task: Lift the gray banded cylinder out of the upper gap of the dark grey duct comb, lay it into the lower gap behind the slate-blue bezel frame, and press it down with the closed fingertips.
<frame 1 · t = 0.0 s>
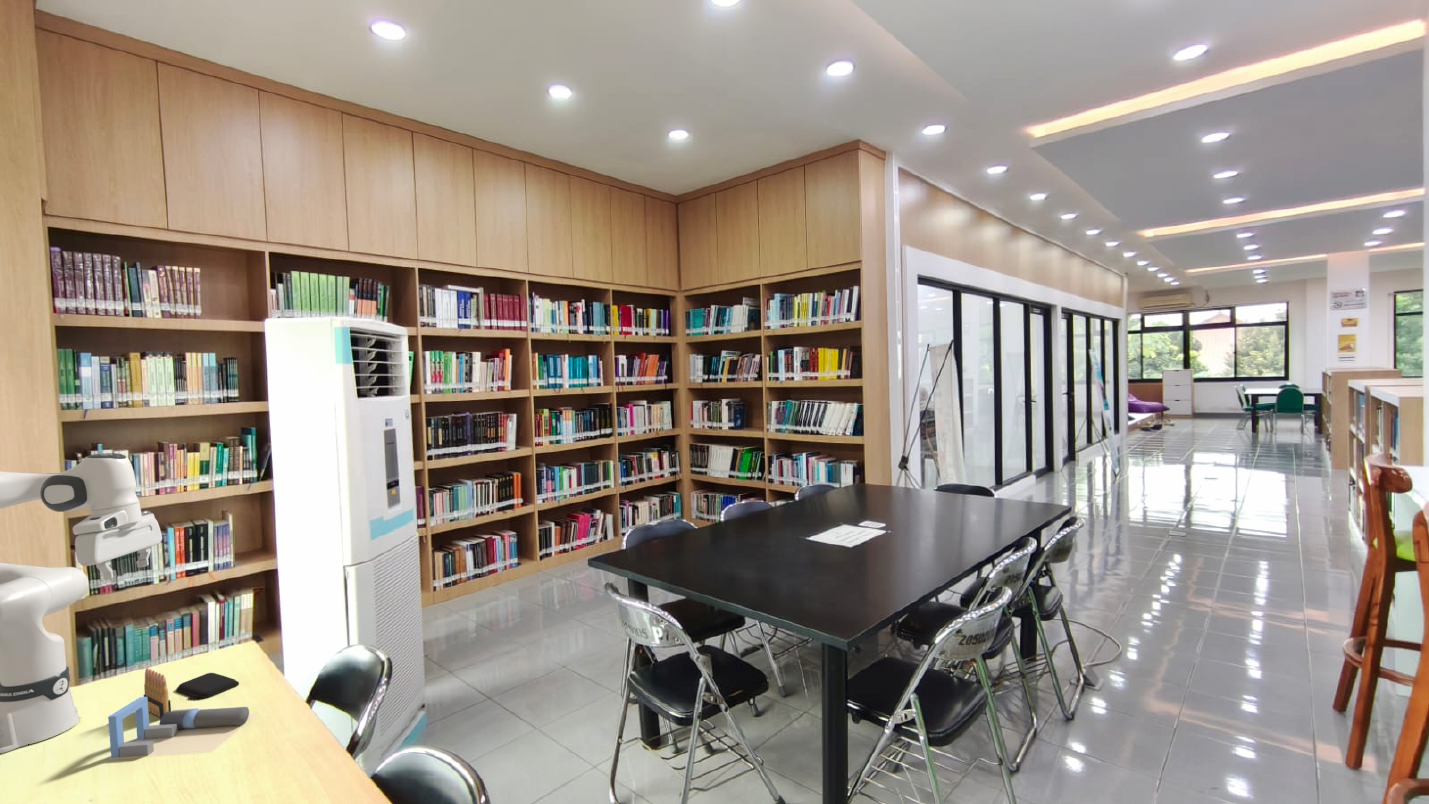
hand: (127, 572, 155), 39 cm above the table, tool pointing down, fingers open, 8 cm apart
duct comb: (188, 739, 150), on the table
blue bezel: (131, 750, 146), resting on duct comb
ammunition clip: (158, 717, 161), on the table
carrying case or bag: (205, 694, 173), on the table
gray banded cylinder: (205, 726, 154), point 1 cm above the table, touching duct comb
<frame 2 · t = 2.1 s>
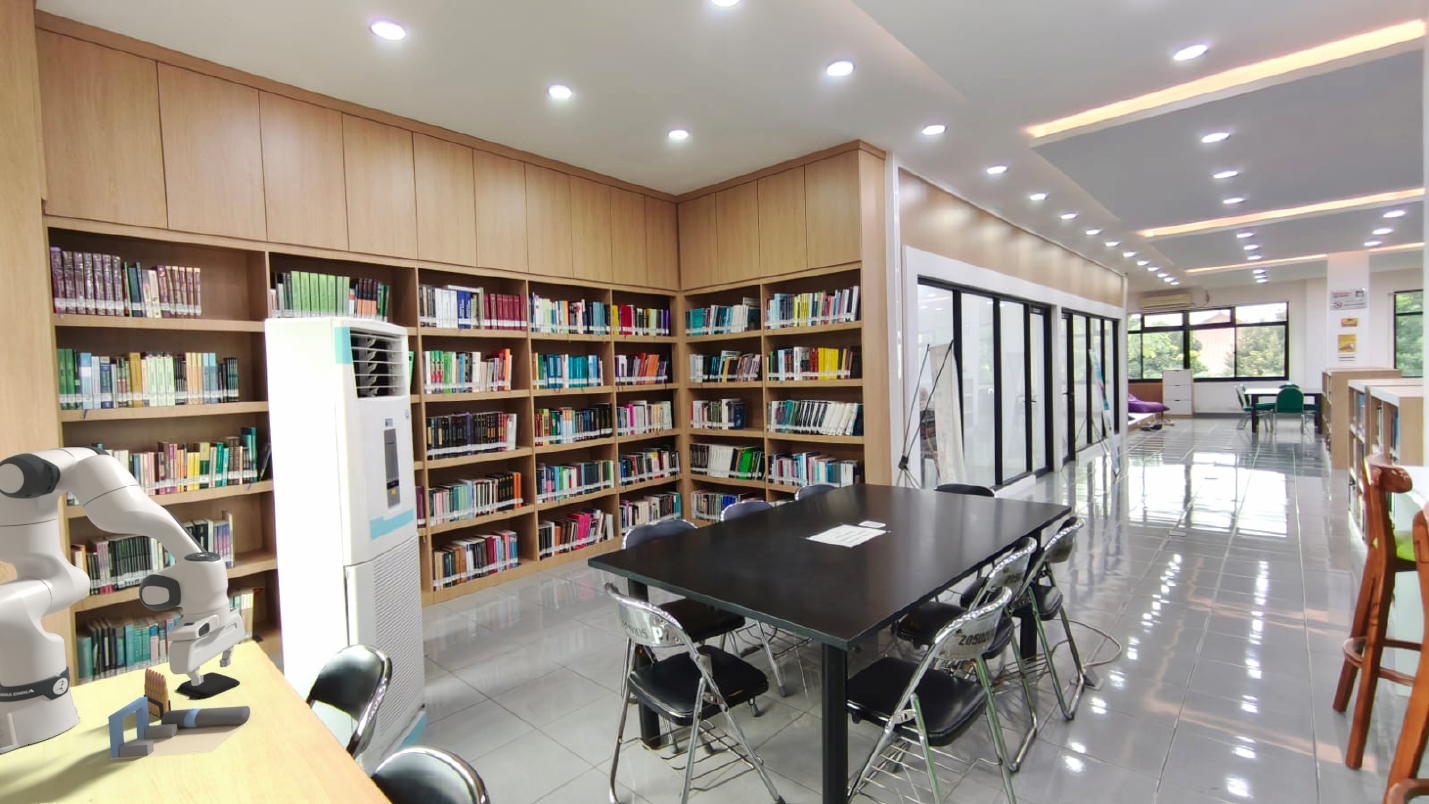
hand: (212, 674, 153), 14 cm above the table, tool pointing down, fingers open, 8 cm apart
gray banded cylinder: (205, 726, 154), point 1 cm above the table, tilted 12°, touching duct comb
everything else where it was.
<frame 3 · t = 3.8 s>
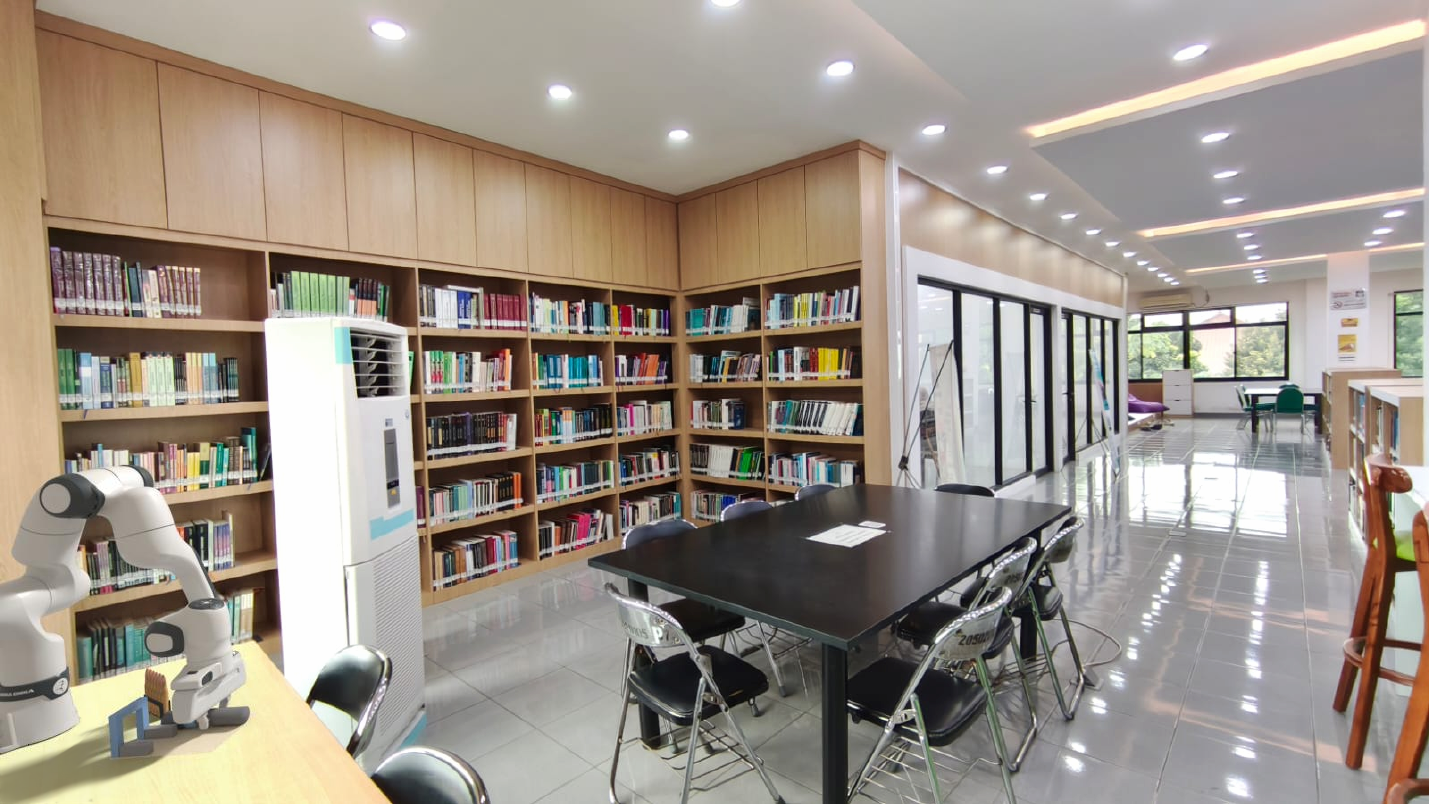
hand: (214, 721, 154), 2 cm above the table, tool pointing down, fingers open, 4 cm apart
gray banded cylinder: (205, 726, 154), point 1 cm above the table, tilted 10°, touching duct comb, gripper
everything else where it was.
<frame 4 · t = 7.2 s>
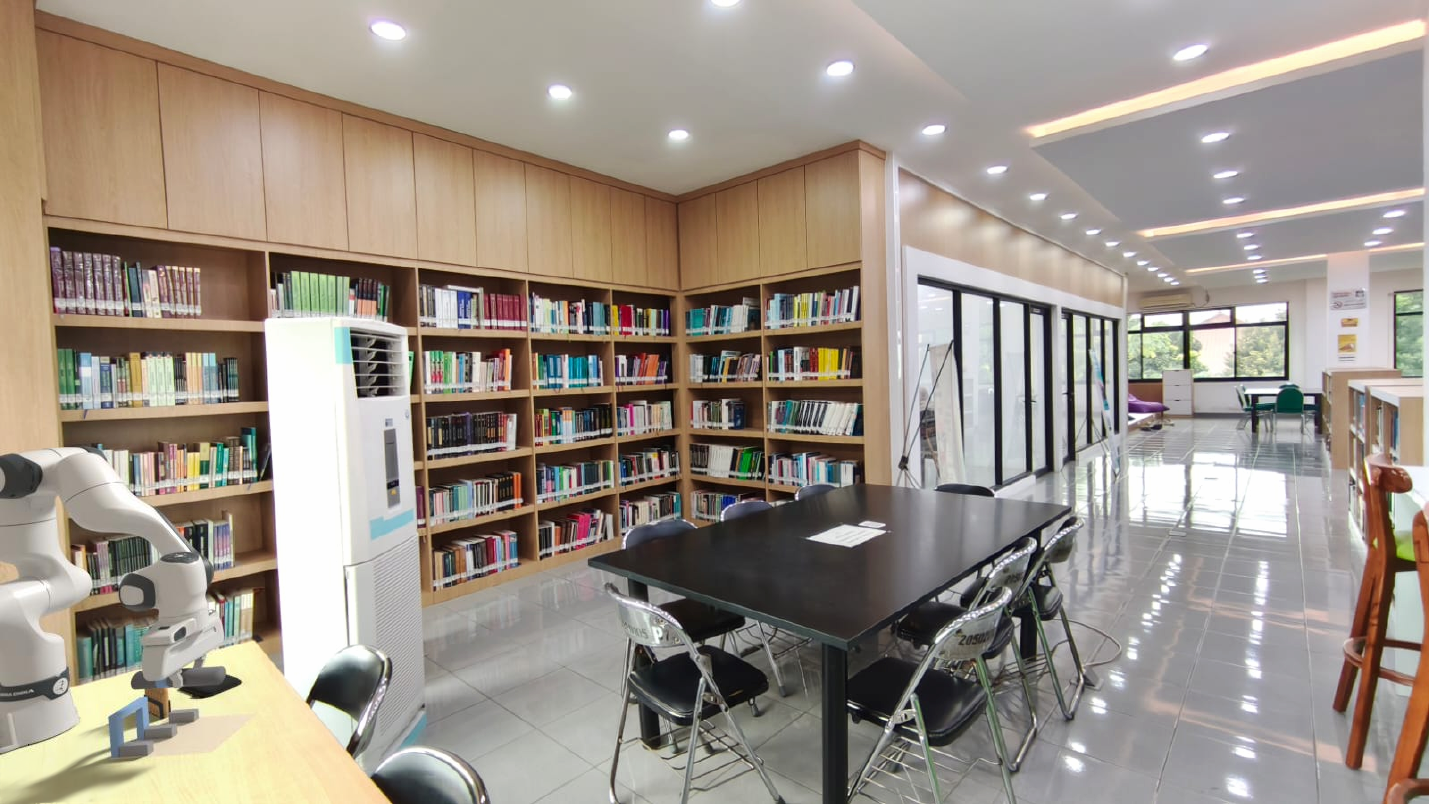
hand: (188, 681, 146), 16 cm above the table, tool pointing down, fingers closed on gray banded cylinder, 4 cm apart
gray banded cylinder: (179, 686, 146), point 15 cm above the table, touching gripper
when the fingers open (3 cm above the table, at t = 10.3 s): gray banded cylinder drops 1 cm, resting on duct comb.
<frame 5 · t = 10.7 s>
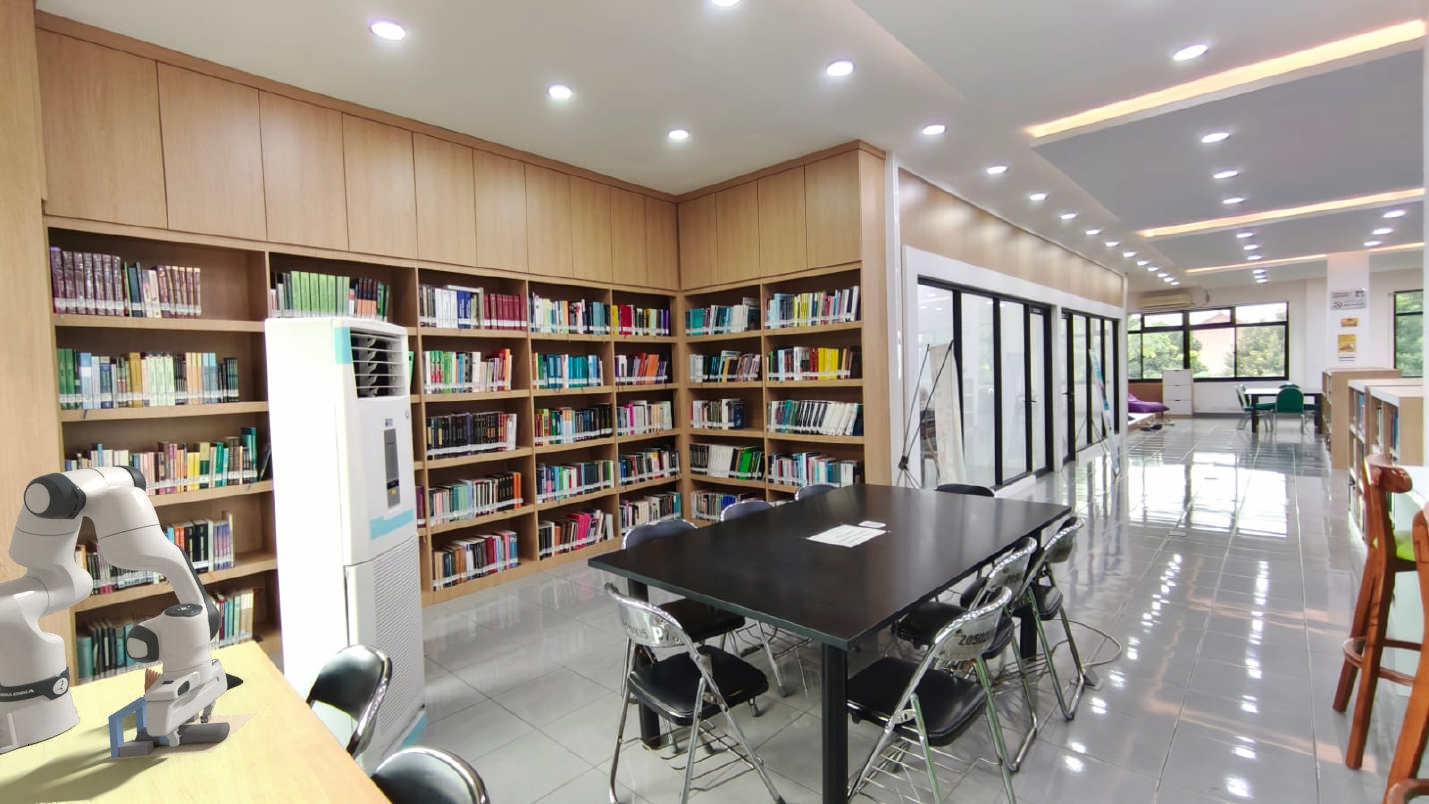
hand: (191, 732, 147), 3 cm above the table, tool pointing down, fingers open, 8 cm apart
gray banded cylinder: (183, 743, 147), point 1 cm above the table, touching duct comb
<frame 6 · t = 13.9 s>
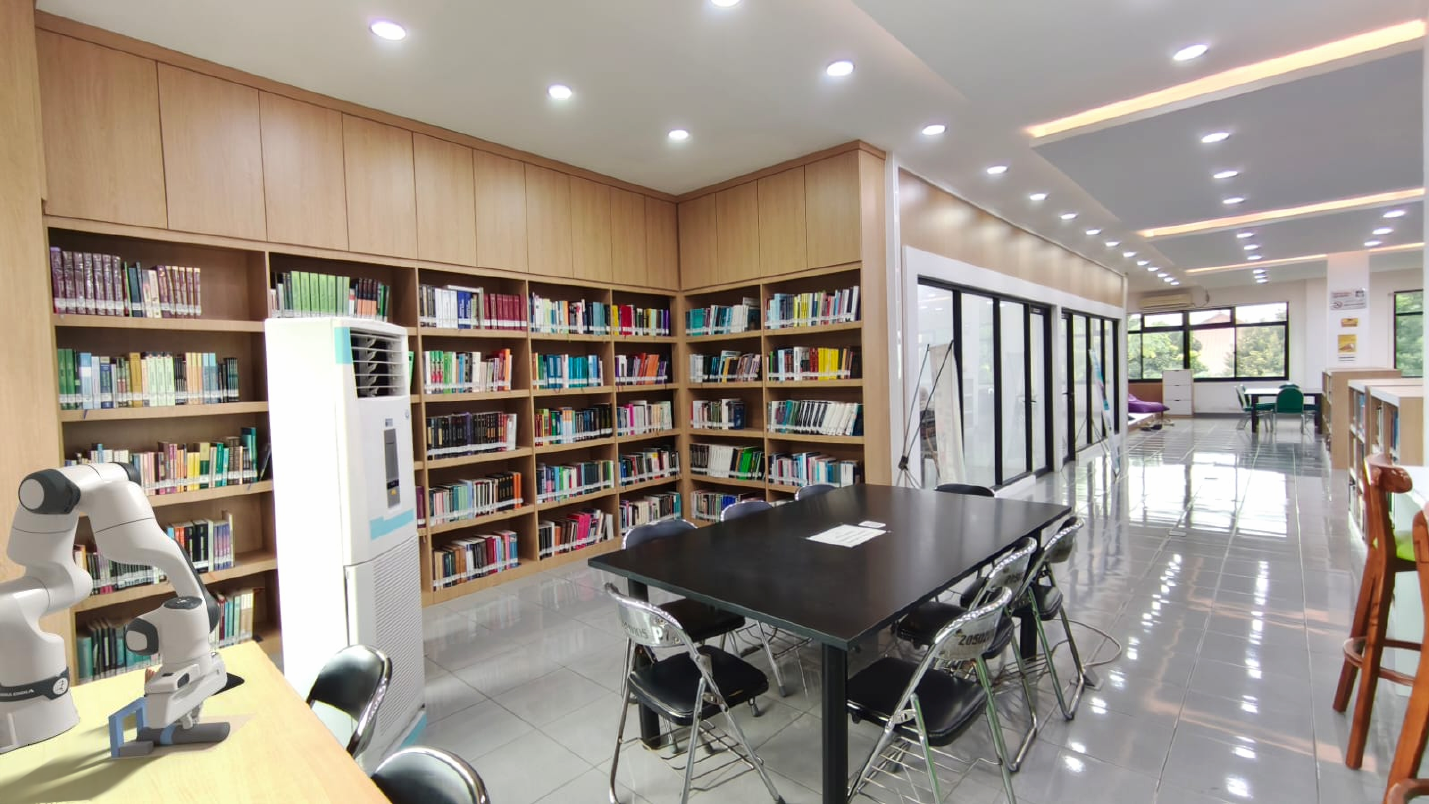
hand: (191, 725, 147), 5 cm above the table, tool pointing down, fingers closed, pressing on gray banded cylinder
gray banded cylinder: (183, 742, 147), point 1 cm above the table, tilted 9°, touching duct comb, gripper
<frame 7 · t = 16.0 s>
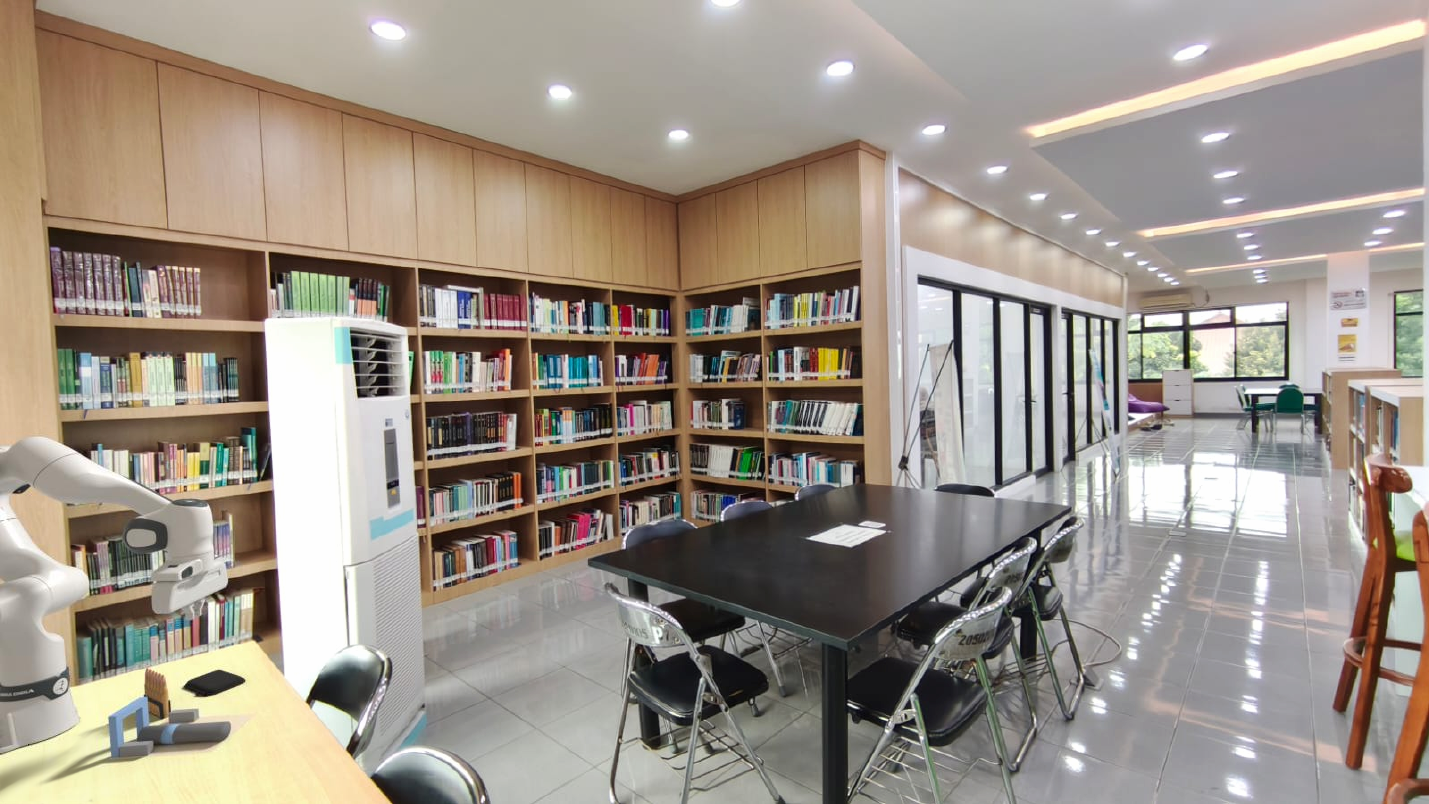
hand: (193, 618, 158), 26 cm above the table, tool pointing down, fingers closed
gray banded cylinder: (183, 742, 147), point 1 cm above the table, tilted 16°, touching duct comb
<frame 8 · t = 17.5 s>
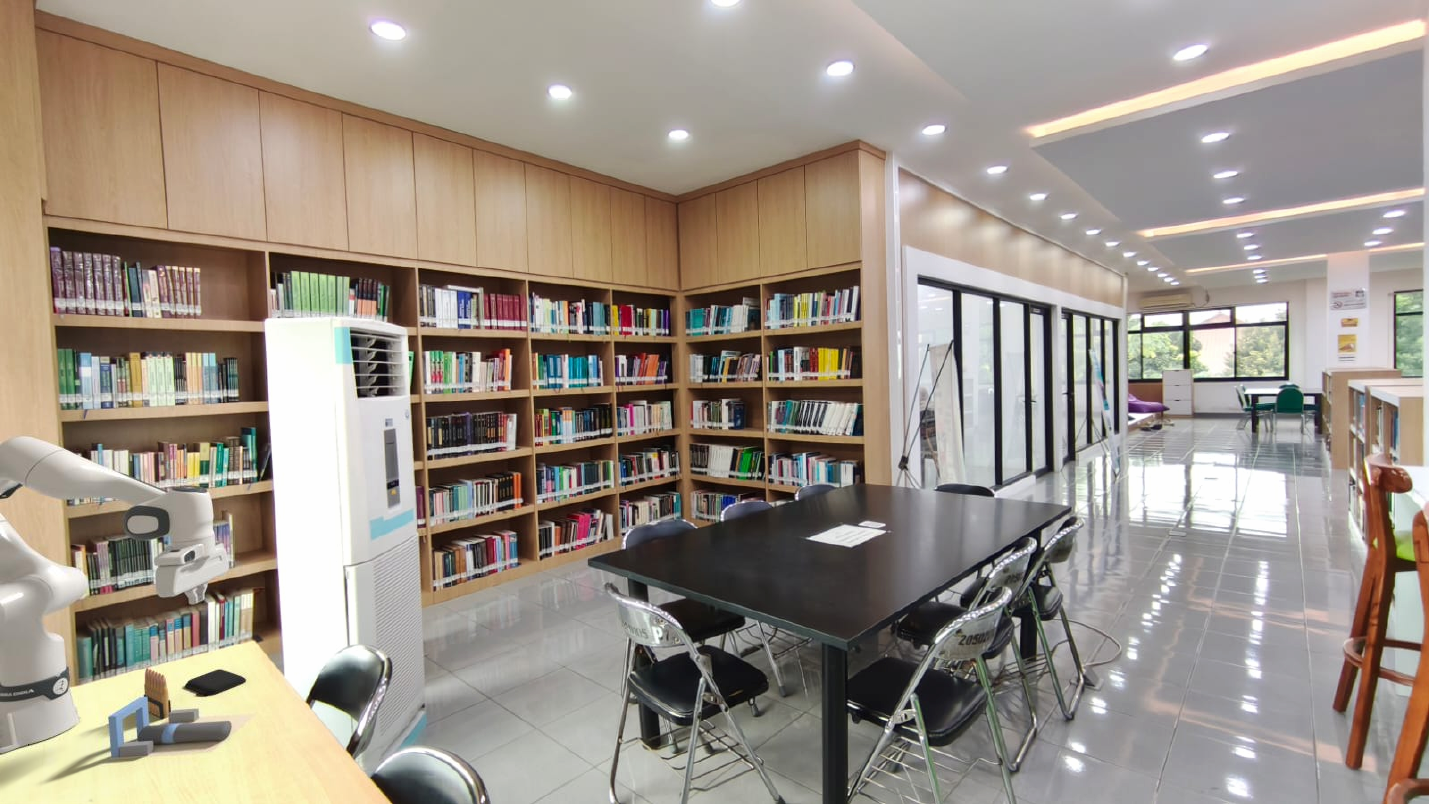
hand: (196, 602, 161), 29 cm above the table, tool pointing down, fingers closed
gray banded cylinder: (183, 742, 147), point 1 cm above the table, tilted 21°, touching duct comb
at the end: gray banded cylinder 0.0 cm from the target spot, point 1.2 cm above the table; the gripper is holding nothing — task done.
